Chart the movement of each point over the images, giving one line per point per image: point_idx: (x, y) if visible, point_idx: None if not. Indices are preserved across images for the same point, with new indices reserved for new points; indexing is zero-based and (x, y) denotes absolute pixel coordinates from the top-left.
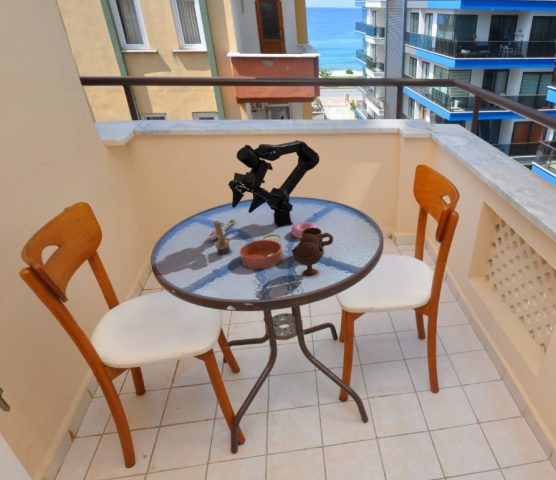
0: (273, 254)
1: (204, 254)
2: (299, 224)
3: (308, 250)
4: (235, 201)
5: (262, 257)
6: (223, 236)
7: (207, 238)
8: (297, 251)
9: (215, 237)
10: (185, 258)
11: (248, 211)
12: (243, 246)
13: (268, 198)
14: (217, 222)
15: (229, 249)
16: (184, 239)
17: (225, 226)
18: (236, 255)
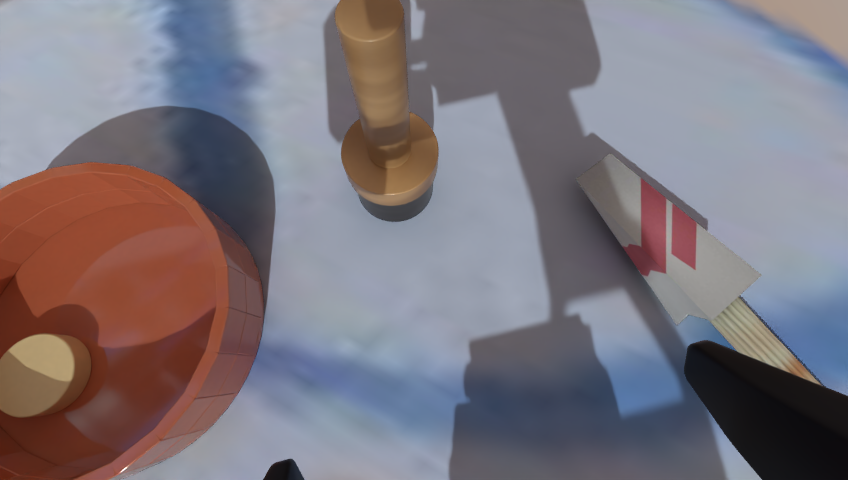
0: (42, 394)
1: (462, 101)
2: None
3: None
4: (802, 449)
5: (132, 329)
6: (369, 137)
7: (616, 162)
8: None
9: (600, 207)
10: (485, 21)
11: (288, 460)
12: (210, 233)
13: None
14: (356, 12)
15: (363, 199)
16: (732, 93)
17: (758, 348)
18: (313, 225)
